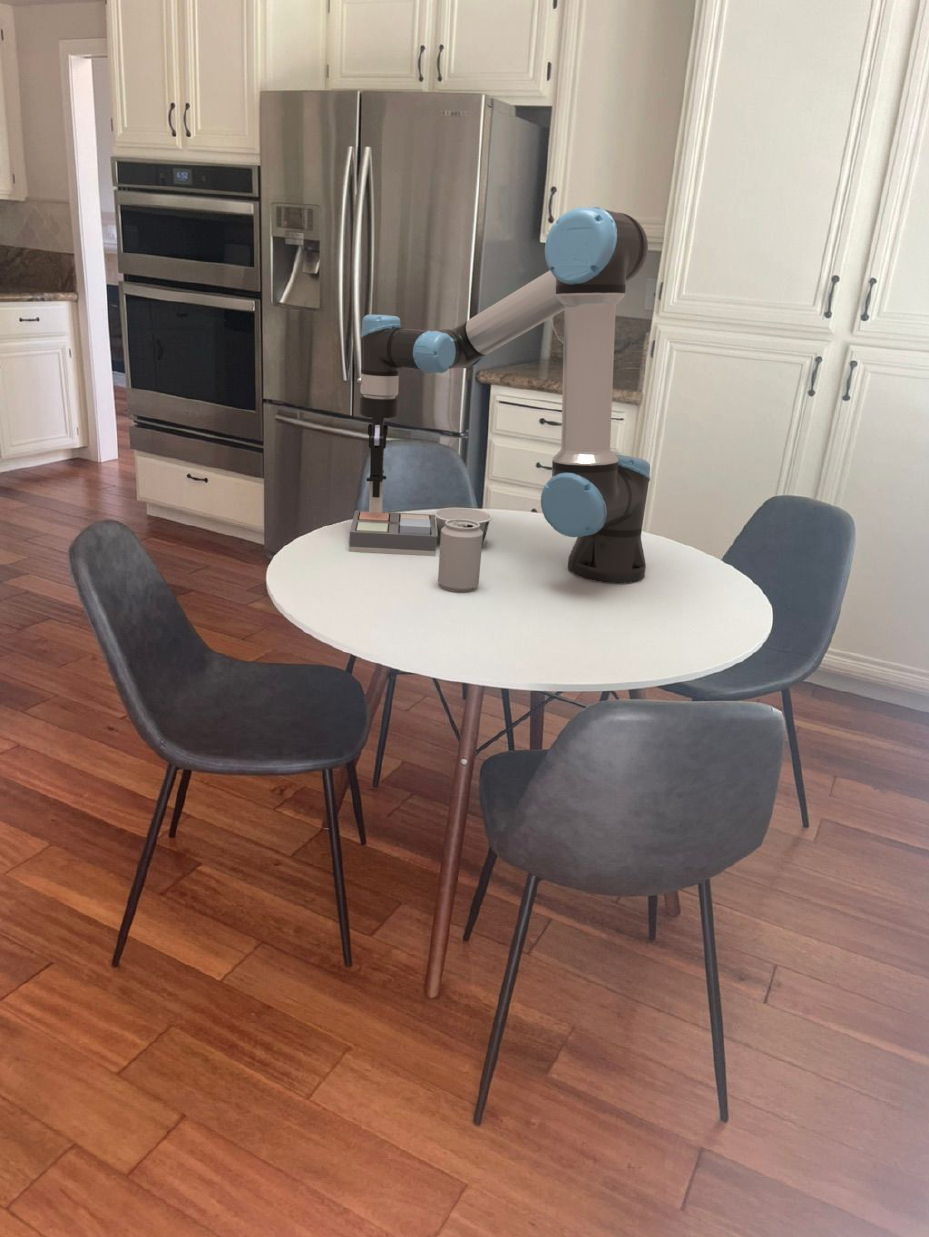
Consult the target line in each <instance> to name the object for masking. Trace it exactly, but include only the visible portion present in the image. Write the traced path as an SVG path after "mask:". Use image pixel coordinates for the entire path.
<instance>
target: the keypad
mask: <svg viewBox="0 0 929 1237" xmlns="http://www.w3.org/2000/svg"><path fill="white" fill-rule="evenodd" d="M360 512H369V510H354V514H353V517H352V522H351V526H350V529H349V542H348V543H349V546H348V547H349V548H348V551H349V552H350V553H351V552H353V553H354V552H355V553H369V554H370V553H371V554H387V555H389V554H392V555H394V554H395V555H407V556H408V555H409V556H424V557H425V556H427V557H436V551H437V550H436V548H437V523H436V517H435V516H434V514H426V513H425V514H424V513H409V512H408V513H407V512H391V511H390V512H389V511H382V513H389V521H371V520H359V517H360ZM377 513H379V512H377ZM401 514H412V515H429V519H430V535H421V534H403V533H400V518H401ZM358 522H367V523H385V524H388V533H385V532H367V531H357V526H358Z"/></svg>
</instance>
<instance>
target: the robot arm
mask: <svg viewBox="0 0 929 1237" xmlns="http://www.w3.org/2000/svg"><path fill="white" fill-rule="evenodd" d="M648 251H649V242H648V237H647V233H646V231H645V229H644V227H643V226H642V224H640V222H639V221H638V220H637V219H636V218H634V217H633V216H631V215H629V214H626V213H622V212H617V211H616V212H615V211H611V210H608V209H607V210H606V209H603V208H601V207H598V206H594V207H593V206H592V207H591V206H585V207H577V208H576V207H575V208H572V209H570V210H568V211H566V212H564V213H563V214H562V215H561V216H559V217H558V219H557V220H556V221H555V222H554V223H553V224H552V226H551V227H550V229H549V231H548V234H547V236H546V240H545V245H544V258H545V262H546V266H547V268H548V271H546V272H545V273H543V274H541V275H540V276H538V277H536V278H535V279H533V280H532V281H529V282H528V283H527V284H525V285H523V286H521V287H520V288H518V289H517V290H515V291H514V292H512V293H510V294H509V295H507V296H505V297H504V298H502V299H501V300H498V301H497V302H496V303H494V304H493V305H490V306H489V307H487V308H485V309H484V310H482V311H481V312H479V313H477V314H476V315H474V316H473V317H471V318H469V319H468V320H466V321H465V322H463V323H461V324H459V325H458V326H456V327H454V328H450V329H447V328H446V329H415V328H414V329H413V328H405V327H402V325H401V319H400V317H398V316H395V315H388V314H366V315H365V316H364V317H363V318H362V322H361V324H362V325H361V332H360V334H361V335H360V361H361V362H360V365H361V366H360V367H361V368H360V377H358V378H357V381H356V382H357V383H359V384H360V393H361V394H362V395H361V396H360V397H359V414H360V415H361V416H362V417H366V418H371V419H372V420H371V423H368V425H367V434H368V448H369V449H370V457H369V458H370V464H369V465H370V466H369V467H370V468H369V470H370V472H369V477H366V482H369V493H368V494H369V495H368V498H369V499H368V500H369V501H368V502H369V503H368V504H369V505H368V511H369V512H379V513H382V512H383V497H384V480H387V475H384V472H385V470H384V459H385V458H384V456H385V455H384V453H385V449H386V447H387V436H388V433H389V432H388V431H389V424H385V419H392V418H393V419H394V418H395V417H397V415H398V401H399V400H398V398H397V397H396V396H398V395H399V385H400V384H399V380H400V373H399V371H400V369H406V370H410V371H411V370H413V371H419V372H425V373H428V374H434V373H436V374H437V373H438V374H444V373H446V372H447V371H448V370H449V369H450V370H452V369H469V368H471V367H475V366H477V365H479V364H481V363H482V362H483V361H484V359H485V358H486V356H487V355H488V354H490V353H491V352H493V351H495V350H497V349H498V348H500V347H502V346H504V345H505V344H507V343H509V342H511V341H512V340H514V339H516V338H518V337H520V336H521V335H523V334H525V333H527V332H528V331H530V330H532V329H534V328H536V327H537V326H539V325H541V324H543V323H544V322H546V321H548V320H550V319H552V318H553V317H555V316H557V315H559V314H560V313H562V312H563V314H564V317H563V318H564V319H563V321H564V322H563V350H562V351H563V356H562V359H563V360H562V365H563V366H562V394H561V395H562V400H561V402H562V404H561V440H560V441H561V442H560V447H561V448H560V449H559V451H558V452H557V453H556V454H554V456H553V457H552V461H551V463H552V464H551V466H552V467H551V469H552V470H551V477H550V478H549V480H548V481H547V482H546V484H545V485H544V486H543V488H542V491H541V495H540V507H541V512H542V514H543V517H544V518H545V520H546V522H547V523H548V524H549V525H550V526H551V528H553V530H555V532H557V533H559V534H560V535H563V536H565V537H569V538H576V539H575V542H574V545H573V546H572V549H571V551H570V553H569V555H568V560H567V570H568V571H569V572H570V573H571V574H573V575H575V576H577V577H579V578H582V579H585V580H589V581H594V582H599V583H606V584H631V583H636V582H640V581H642V580H644V578H645V576H646V568H647V566H646V565H647V563H646V559H645V553H644V548H643V542H642V530H643V524H644V519H645V518H644V517H645V511H646V505H647V498H648V491H649V484H650V481H651V477H650V474H651V464H650V463H649V461H647V460H646V459H643V458H639V457H634V456H629V455H623V454H619V453H618V454H617V453H614V452H613V451H612V450H611V434H612V432H611V431H612V408H613V387H614V386H613V385H614V383H613V382H614V380H613V379H614V358H615V357H614V356H615V336H616V335H615V332H616V309H617V305H618V304H619V303H620V302H621V300H623V298H624V297H625V296H626V287H627V286H626V285H627V283H628V282H630V281H631V280H633V279H634V278H636V276H637V275H638V274H639V273H640V271H641V270H642V269H643V267H644V265H645V263H646V261H647V257H648V253H649V252H648Z"/></svg>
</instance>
